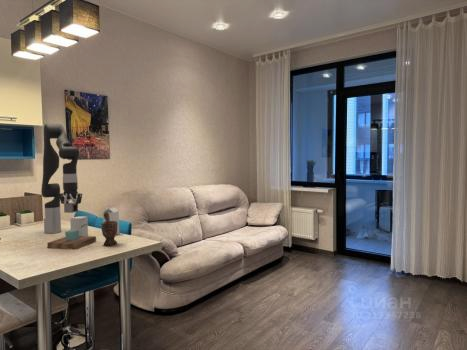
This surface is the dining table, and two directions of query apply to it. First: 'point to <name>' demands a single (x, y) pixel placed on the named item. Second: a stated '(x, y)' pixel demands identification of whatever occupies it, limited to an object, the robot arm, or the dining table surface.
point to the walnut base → (71, 242)
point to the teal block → (72, 235)
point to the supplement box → (80, 225)
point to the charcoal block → (69, 208)
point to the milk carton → (113, 215)
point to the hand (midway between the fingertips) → (71, 211)
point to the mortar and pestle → (109, 230)
